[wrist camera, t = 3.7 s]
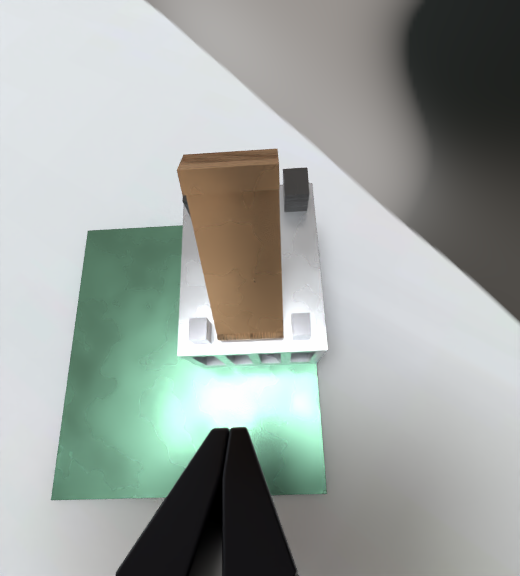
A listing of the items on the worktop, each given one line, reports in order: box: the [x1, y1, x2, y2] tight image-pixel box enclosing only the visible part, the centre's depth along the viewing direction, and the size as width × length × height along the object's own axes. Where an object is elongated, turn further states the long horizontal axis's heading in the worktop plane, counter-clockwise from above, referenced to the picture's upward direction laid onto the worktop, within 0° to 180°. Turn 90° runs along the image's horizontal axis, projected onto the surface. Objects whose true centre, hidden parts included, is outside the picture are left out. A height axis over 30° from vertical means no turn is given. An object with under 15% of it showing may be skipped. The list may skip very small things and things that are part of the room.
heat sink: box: [51, 168, 328, 500], centre depth 19 cm, size 17×16×8 cm
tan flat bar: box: [177, 149, 284, 341], centre depth 14 cm, size 8×3×1 cm
